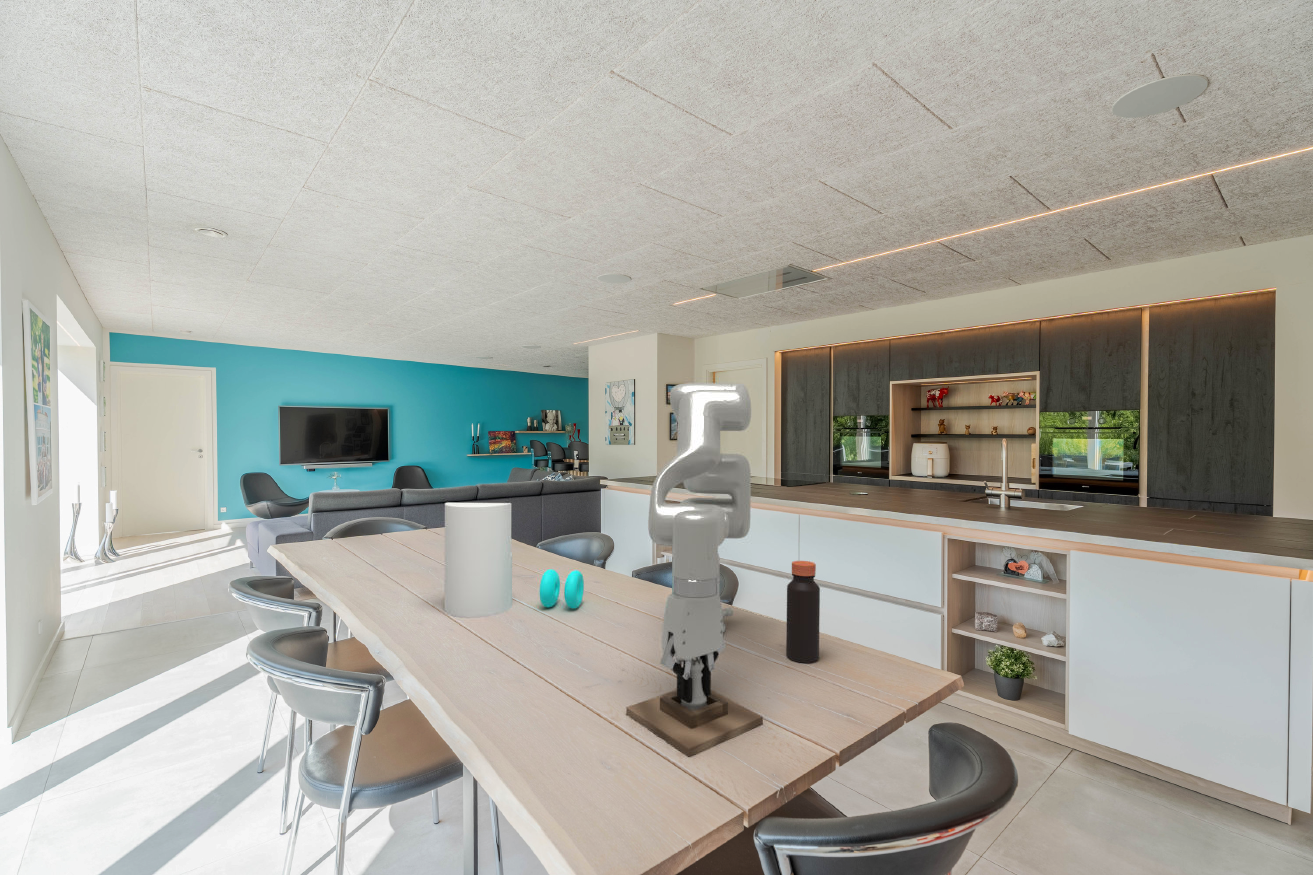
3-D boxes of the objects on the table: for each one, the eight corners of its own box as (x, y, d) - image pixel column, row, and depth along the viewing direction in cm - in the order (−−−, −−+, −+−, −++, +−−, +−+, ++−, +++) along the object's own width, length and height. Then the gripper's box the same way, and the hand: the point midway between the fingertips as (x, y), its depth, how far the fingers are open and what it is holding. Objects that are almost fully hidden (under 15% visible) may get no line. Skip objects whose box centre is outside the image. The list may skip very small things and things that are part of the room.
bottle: (821, 654, 125) (822, 561, 125) (816, 665, 119) (817, 568, 119) (789, 649, 128) (790, 558, 128) (782, 660, 122) (784, 564, 122)
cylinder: (501, 617, 148) (502, 507, 147) (433, 617, 148) (434, 506, 147) (518, 598, 165) (519, 499, 164) (457, 597, 165) (458, 498, 165)
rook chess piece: (678, 701, 99) (679, 654, 99) (704, 700, 99) (705, 654, 99) (682, 714, 94) (682, 665, 94) (709, 713, 95) (709, 664, 95)
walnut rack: (697, 688, 108) (697, 671, 108) (762, 723, 95) (763, 704, 95) (626, 714, 98) (626, 695, 98) (688, 756, 86) (688, 735, 86)
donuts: (550, 600, 163) (550, 565, 163) (584, 602, 161) (585, 566, 161) (537, 611, 153) (538, 573, 153) (574, 613, 151) (575, 575, 151)
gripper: (715, 574, 105) (714, 675, 105) (641, 589, 94) (640, 701, 95) (746, 583, 99) (745, 690, 99) (670, 600, 89) (669, 720, 89)
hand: (693, 694), depth 97 cm, fingers closed on rook chess piece, 3 cm apart
